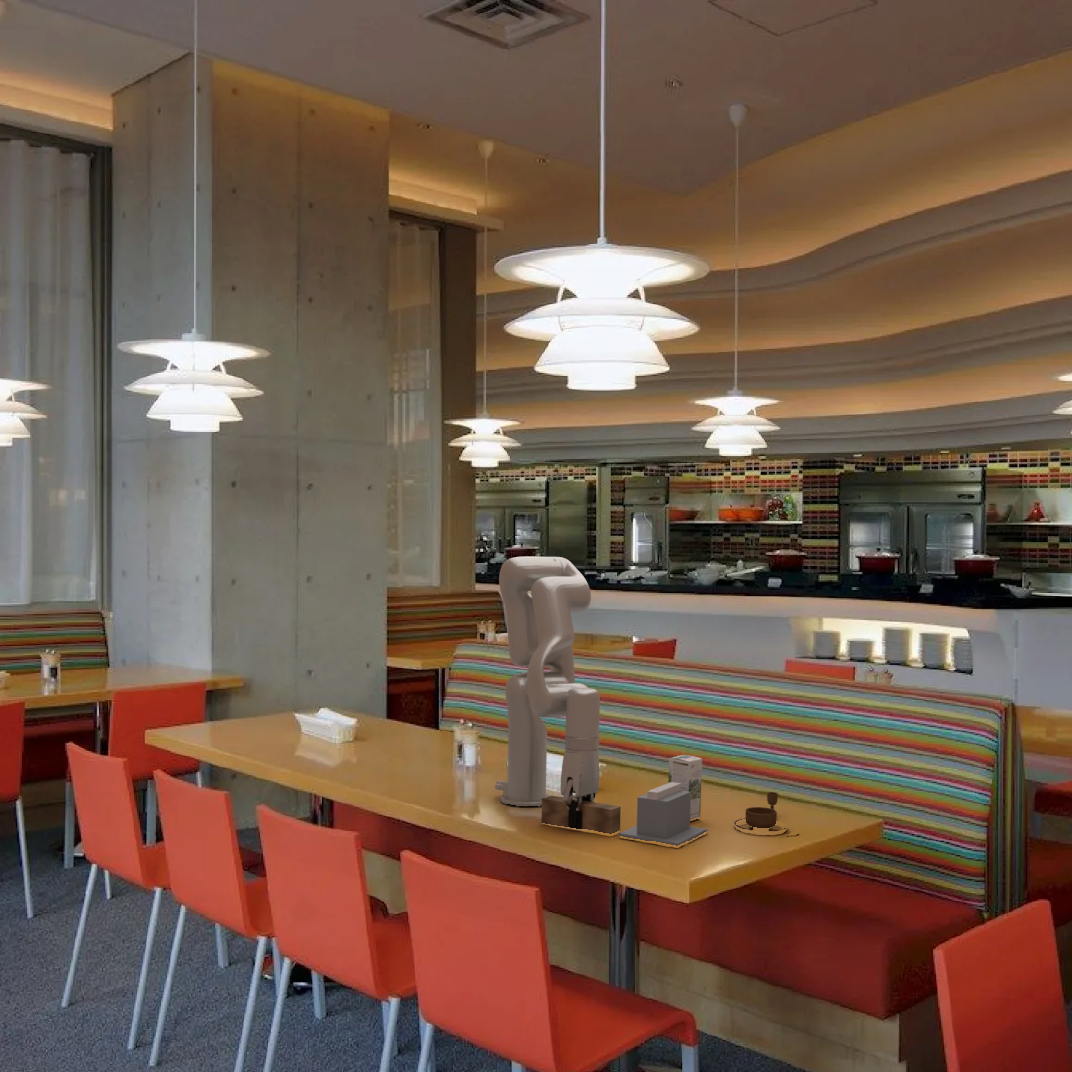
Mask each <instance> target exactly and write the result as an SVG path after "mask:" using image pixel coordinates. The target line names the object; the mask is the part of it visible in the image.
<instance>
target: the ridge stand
mask: <svg viewBox="0 0 1072 1072" xmlns="http://www.w3.org/2000/svg"><path fill="white" fill-rule="evenodd" d="M690 795H691V792H688V791H681V783H675V782H670V783H668V782H667V783H665V784H663V785H660V786H657V787H655V788H652V789H650V790H647V791H646V793H644V794H643V795H640V796H637V800H636V801H637V803H636V805H637V806H636V812H637V813H636V814H637V815H636V825H635V826H633V827H631V828H628V829H626V830H623V831H620V833H619V834H618V837H619V836H623V837H627V838H633V839H640V840H645V841H656V842H661V843H666V844H671V845H676V846H678V845H680V844H682V843H685V842H686V841H690V840H692V839H693V838H696V837H698V836H699V835H701V834H703V833H704V832H706V831H707V832H708V828H703V827H697V826H691V822H690Z"/></svg>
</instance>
